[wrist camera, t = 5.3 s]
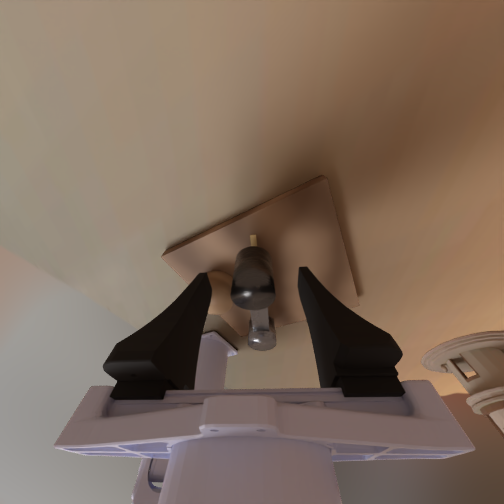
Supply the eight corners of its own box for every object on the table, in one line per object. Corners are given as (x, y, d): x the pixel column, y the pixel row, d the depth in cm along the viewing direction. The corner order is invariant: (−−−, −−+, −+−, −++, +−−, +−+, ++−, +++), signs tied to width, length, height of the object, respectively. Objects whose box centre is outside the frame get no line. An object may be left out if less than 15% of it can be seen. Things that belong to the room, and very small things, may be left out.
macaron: (214, 297, 23) (209, 318, 21) (194, 277, 21) (187, 297, 19) (240, 288, 22) (239, 308, 20) (223, 266, 20) (218, 285, 18)
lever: (274, 329, 26) (279, 379, 21) (250, 330, 26) (248, 379, 21) (271, 231, 17) (278, 278, 12) (233, 233, 17) (223, 281, 12)
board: (241, 329, 30) (241, 337, 29) (165, 250, 20) (160, 257, 19) (355, 298, 25) (360, 306, 24) (322, 174, 15) (327, 178, 14)
